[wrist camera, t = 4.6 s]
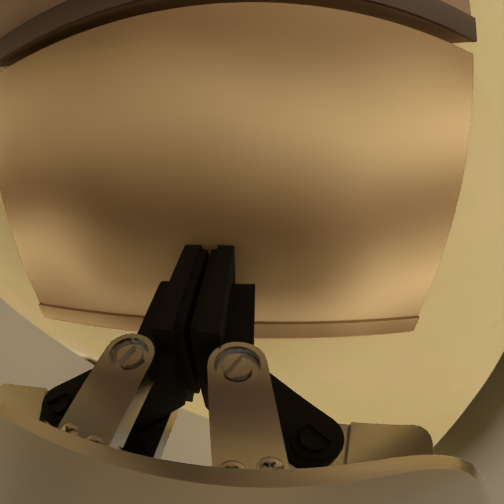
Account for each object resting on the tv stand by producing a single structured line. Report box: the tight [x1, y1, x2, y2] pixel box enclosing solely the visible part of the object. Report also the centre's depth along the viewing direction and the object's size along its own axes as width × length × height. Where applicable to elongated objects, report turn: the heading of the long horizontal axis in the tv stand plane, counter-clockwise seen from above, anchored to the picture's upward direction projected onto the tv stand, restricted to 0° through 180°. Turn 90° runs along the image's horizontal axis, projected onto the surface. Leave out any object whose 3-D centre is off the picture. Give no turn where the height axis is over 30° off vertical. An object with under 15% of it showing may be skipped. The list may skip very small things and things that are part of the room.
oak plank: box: [0, 2, 473, 339], centre depth 9 cm, size 12×18×2 cm, turn 90°
